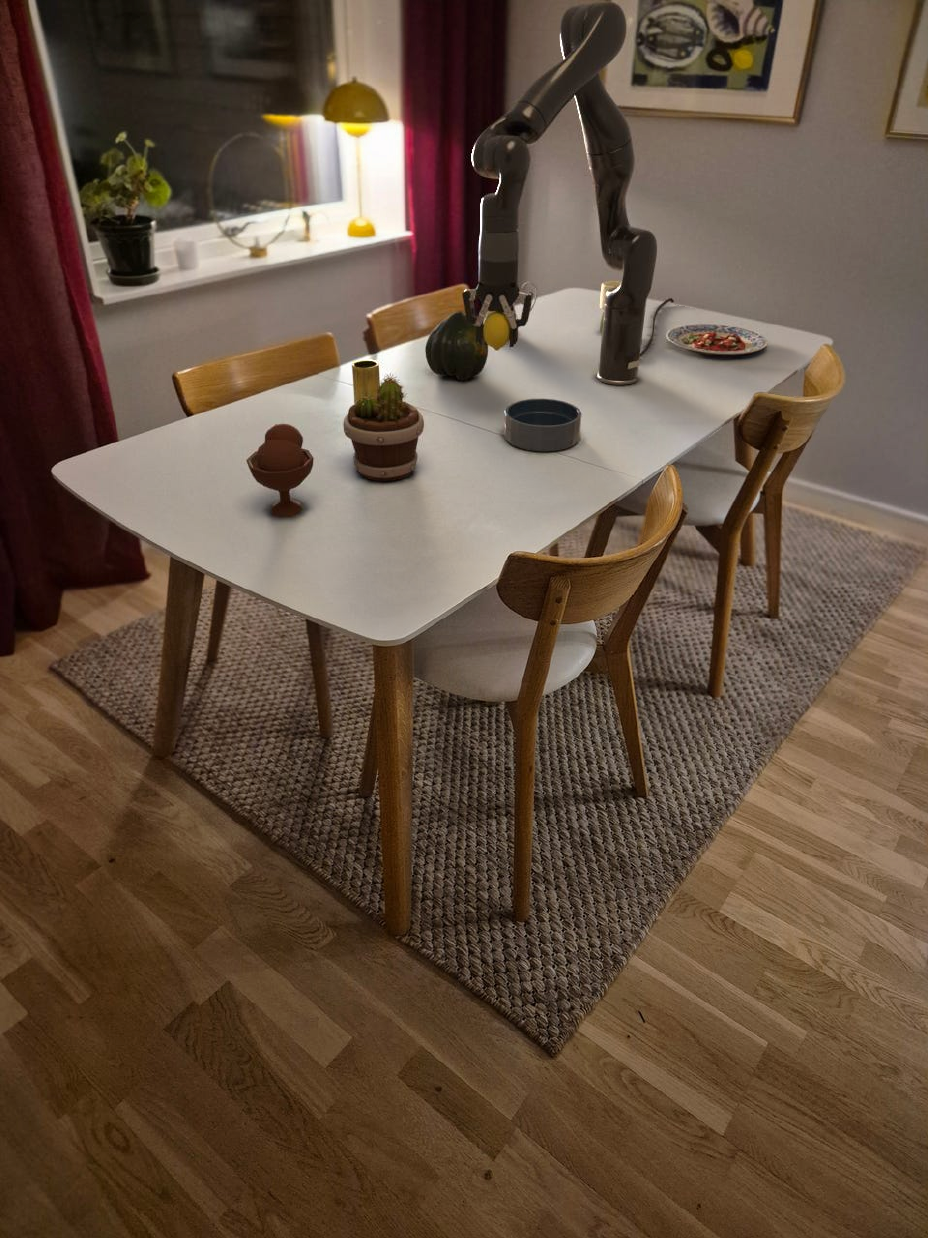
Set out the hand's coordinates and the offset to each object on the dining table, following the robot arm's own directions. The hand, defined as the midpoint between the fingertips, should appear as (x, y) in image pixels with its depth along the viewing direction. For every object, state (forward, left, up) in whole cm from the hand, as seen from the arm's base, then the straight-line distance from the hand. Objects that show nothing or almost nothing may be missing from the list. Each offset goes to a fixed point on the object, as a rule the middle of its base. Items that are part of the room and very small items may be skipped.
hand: (496, 344), depth 168 cm
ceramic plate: (-66, +46, -17) cm, 82 cm away
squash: (-28, -15, -17) cm, 36 cm away
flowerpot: (+28, -15, -17) cm, 36 cm away
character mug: (-71, +18, -17) cm, 75 cm away
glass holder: (-64, -9, -17) cm, 67 cm away
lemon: (0, 0, -1) cm, 1 cm away
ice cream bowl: (+47, -27, -17) cm, 57 cm away
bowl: (+6, +11, -16) cm, 20 cm away
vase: (+11, -24, -17) cm, 31 cm away
